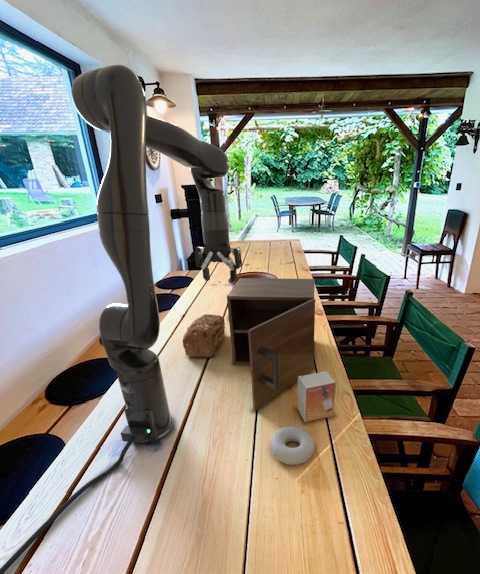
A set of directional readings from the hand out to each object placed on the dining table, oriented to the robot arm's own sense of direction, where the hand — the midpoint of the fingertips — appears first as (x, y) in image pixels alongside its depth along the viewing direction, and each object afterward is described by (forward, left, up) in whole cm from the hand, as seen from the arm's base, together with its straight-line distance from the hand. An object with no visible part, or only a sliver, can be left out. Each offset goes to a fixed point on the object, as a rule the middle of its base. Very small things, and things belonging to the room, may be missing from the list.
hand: (220, 281), depth 100 cm
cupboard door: (-18, -24, -27) cm, 40 cm away
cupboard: (+4, -16, -27) cm, 32 cm away
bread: (+7, +10, -27) cm, 30 cm away
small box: (-26, -30, -27) cm, 48 cm away
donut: (-39, -25, -27) cm, 54 cm away
